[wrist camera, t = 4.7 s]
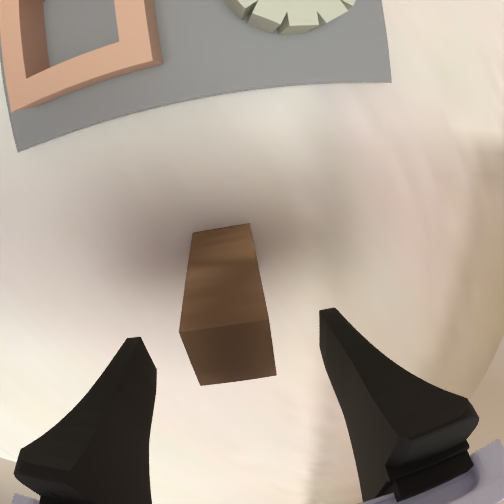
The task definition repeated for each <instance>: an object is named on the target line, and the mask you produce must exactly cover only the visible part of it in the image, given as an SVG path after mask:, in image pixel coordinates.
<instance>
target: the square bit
mask: <svg viewBox="0 0 504 504" xmlns="http://www.w3.org/2000/svg"><path fill="white" fill-rule="evenodd" d="M179 333H180V336H181V339H182V341H183V344H184V346H185V349H186V351H187V354H188V356H189V359H190V362H191V364H192V366H193V369H194V371H195V374H196V376H197V379H198V381H199V383H200V386H202V385H212V384H220V383H228V382H236V381H243V380H250V379H257V378H263V377H269V376H275V375H276V367H275V360H274V353H273V345H272V338H271V331H270V323H269V317H268V312H267V307H266V302H265V297H264V292H263V287H262V282H261V277H260V272H259V268H258V263H257V258H256V253H255V248H254V243H253V238H252V233H251V228H250V223H249V224H243V225H237V226H231V227H225V228H219V229H213V230H207V231H201V232H195V233H193V235H192V242H191V248H190V255H189V261H188V268H187V275H186V282H185V289H184V297H183V304H182V312H181V320H180V328H179Z"/></svg>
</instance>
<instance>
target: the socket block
mask: <svg viewBox="0 0 504 504" xmlns="http://www.w3.org/2000/svg"><path fill="white" fill-rule="evenodd" d="M0 61H1V69H2V77H3V83H4V90H5V96H6V101H7V106H8V112H9V117H10V121H11V126H12V130H13V135H14V139H15V143H16V147H17V151H18V152H20V151H23V150H25V149H27V148H30V147H32V146H35V145H37V144H40V143H42V142H45V141H48V140H50V139H53V138H56V137H58V136H61V135H64V134H67V133H69V132H72V131H75V130H78V129H81V128H84V127H87V126H90V125H94V124H97V123H100V122H103V121H107V120H110V119H113V118H117V117H120V116H124V115H128V114H131V113H135V112H139V111H143V110H147V109H151V108H155V107H159V106H164V105H168V104H173V103H177V102H182V101H187V100H192V99H197V98H202V97H208V96H214V95H220V94H226V93H232V92H239V91H246V90H254V89H262V88H271V87H281V86H292V85H305V84H321V83H349V82H385V83H392V82H391V70H390V60H389V50H388V42H387V34H386V27H385V20H384V14H383V7H382V2H381V0H0Z"/></svg>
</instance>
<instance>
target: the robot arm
mask: <svg viewBox="0 0 504 504" xmlns="http://www.w3.org/2000/svg"><path fill="white" fill-rule="evenodd" d="M319 316H320V350H321V354H322V358H323V361H324V365H325V368H326V371H327V374H328V376H329V379H330V381H331V384H332V386H333V389H334V391H335V394H336V396H337V399H338V401H339V404H340V406H341V409H342V412H343V414H344V417H345V421H346V424H347V428H348V432H349V436H350V440H351V444H352V448H353V453H354V457H355V461H356V466H357V471H358V476H359V481H360V487H361V492H362V499H363V502H362V503H359V504H498V503H500V502H502V501H503V500H504V447H503V445H502V443H501V441H500V440H499V439H496V440H495V441H493V442H491V443H490V444H488V445H486V446H484V447H482V448H481V449H479V450H477V451H476V452H474V453H473V454H471V455H470V456H469V453H468V451H467V450H468V449H469V444H468V442H467V440H466V439H467V438H468V437H469V435H470V434H471V433H472V432H473V430H474V429H475V428H476V426H477V424H478V421H479V417H478V415H477V413H476V411H475V410H474V408H473V406H472V405H471V403H470V402H469V401H468V399H467V398H465V397H462V396H459V395H456V394H453V393H451V392H448V391H445V390H443V389H441V388H438V387H436V386H434V385H432V384H430V383H428V382H426V381H424V380H422V379H420V378H418V377H417V376H415V375H413V374H411V373H410V372H408V371H406V370H405V369H403V368H402V367H400V366H399V365H397V364H396V363H394V362H393V361H392V360H390V359H389V358H388V357H386V356H385V355H384V354H383V353H381V352H380V351H379V350H378V349H377V348H375V347H374V346H373V345H372V344H371V343H370V342H369V341H368V340H366V339H365V338H364V337H363V336H362V335H361V334H360V333H359V332H358V331H357V330H356V329H355V328H354V327H353V326H352V325H351V324H350V323H349V322H348V321H347V320H346V319H345V318H344V317H343V316H342V314H341V313H340V312H339V311H338V310H337V309H336V308H329V309H324V310H319ZM156 379H157V369H156V367H155V365H154V363H153V361H152V359H151V357H150V355H149V353H148V351H147V349H146V347H145V345H144V343H143V341H142V339H141V337H134V338H127V339H126V341H125V342H124V343H123V345H122V346H121V348H120V349H119V351H118V352H117V353H116V355H115V356H114V358H113V359H112V361H111V362H110V364H109V365H108V366H107V368H106V369H105V371H104V372H103V373H102V375H101V376H100V377H99V379H98V380H97V381H96V383H95V384H94V385H93V386H92V388H91V389H90V390H89V392H88V393H87V394H86V395H85V396H84V398H83V399H82V400H81V401H80V402H79V403H78V404H77V405H76V406H75V407H74V408H73V409H72V410H71V411H70V412H69V413H68V414H67V415H66V416H65V417H64V418H63V419H62V420H61V421H60V422H59V423H57V424H56V425H55V426H54V427H53V428H51V429H50V430H49V431H48V432H46V433H45V434H44V435H42V436H41V437H39V438H38V439H36V440H35V441H33V442H32V443H30V444H29V445H27V446H25V447H24V448H22V449H21V450H20V453H19V456H18V460H17V463H16V467H15V470H14V475H15V477H16V478H17V479H18V480H19V481H20V482H21V483H22V484H24V485H25V486H27V487H28V488H30V489H31V490H33V491H34V492H36V493H37V494H39V495H40V496H41V497H40V501H38V500H36V499H33V498H31V497H27V496H24V495H21V494H18V493H15V494H14V496H13V501H12V504H152V500H151V490H150V476H149V438H150V430H151V423H152V416H153V409H154V403H155V396H156Z"/></svg>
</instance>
